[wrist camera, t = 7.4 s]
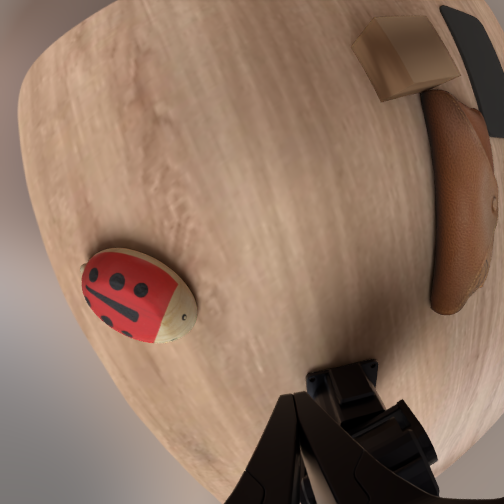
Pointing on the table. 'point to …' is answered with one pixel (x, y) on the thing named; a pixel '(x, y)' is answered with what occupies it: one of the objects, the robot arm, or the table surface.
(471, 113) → the sunglasses case
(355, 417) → the robot arm
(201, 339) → the table surface
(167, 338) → the ladybug figurine
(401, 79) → the walnut block
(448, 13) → the phone
